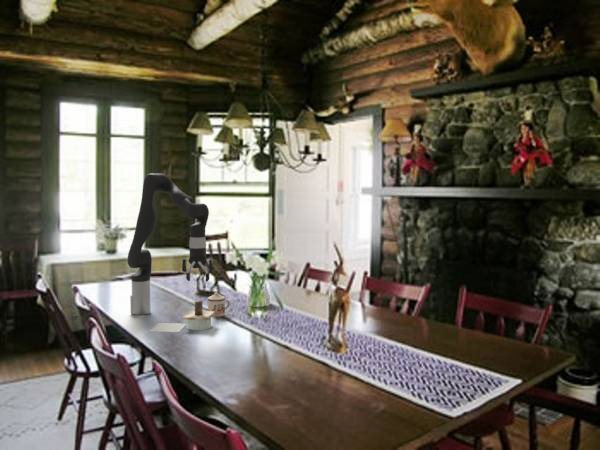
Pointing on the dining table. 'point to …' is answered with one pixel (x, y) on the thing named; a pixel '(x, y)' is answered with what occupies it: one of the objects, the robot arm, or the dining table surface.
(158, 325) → the mat
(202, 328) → the bowl
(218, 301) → the teacup with lid
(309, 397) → the dining table surface
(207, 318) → the cover
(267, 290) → the glass flower vase
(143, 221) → the robot arm
